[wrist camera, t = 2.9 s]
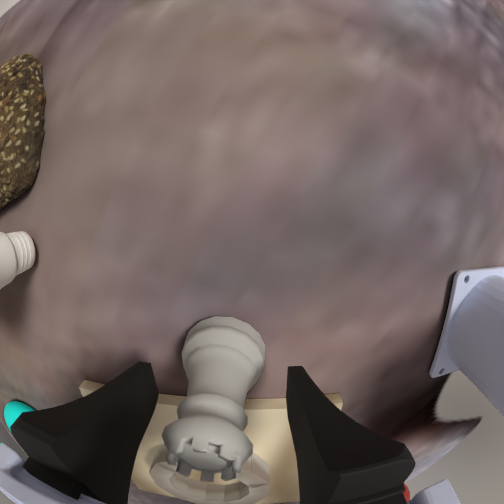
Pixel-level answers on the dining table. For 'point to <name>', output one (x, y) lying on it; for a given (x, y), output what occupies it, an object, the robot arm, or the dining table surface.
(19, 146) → the bread roll
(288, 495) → the ring board
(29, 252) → the lightbulb
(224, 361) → the rook chess piece
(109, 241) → the dining table surface
